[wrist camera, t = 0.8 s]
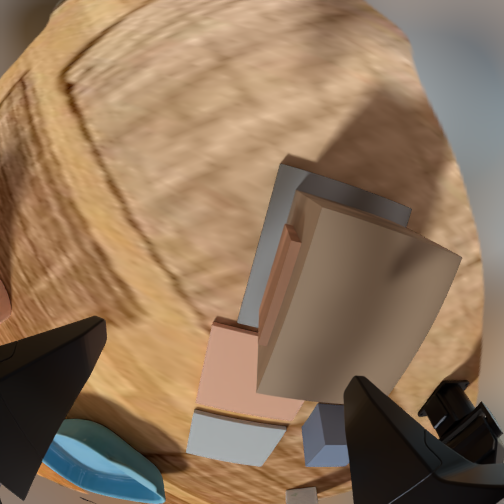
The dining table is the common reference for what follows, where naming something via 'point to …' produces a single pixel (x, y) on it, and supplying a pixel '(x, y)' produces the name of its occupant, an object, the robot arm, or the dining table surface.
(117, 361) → the dining table surface
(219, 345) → the terracotta mat
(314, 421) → the block
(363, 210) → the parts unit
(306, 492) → the syrup box
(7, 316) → the salt shaker
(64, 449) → the casserole dish
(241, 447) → the grey mat
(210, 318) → the dining table surface
